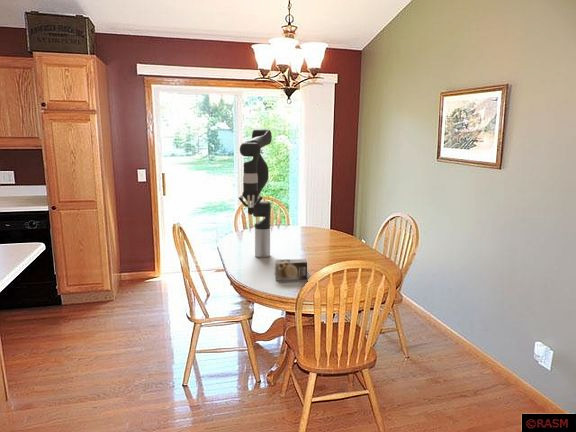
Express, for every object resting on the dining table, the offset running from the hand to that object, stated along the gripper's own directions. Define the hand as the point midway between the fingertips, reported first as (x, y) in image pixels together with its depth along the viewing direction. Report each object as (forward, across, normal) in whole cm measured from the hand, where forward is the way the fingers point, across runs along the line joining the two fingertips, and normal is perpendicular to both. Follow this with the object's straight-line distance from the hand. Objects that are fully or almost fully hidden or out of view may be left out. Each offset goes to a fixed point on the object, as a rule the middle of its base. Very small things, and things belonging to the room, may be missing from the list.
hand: (250, 214), depth 217 cm
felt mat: (+31, -21, +14) cm, 40 cm away
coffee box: (+26, -11, +15) cm, 32 cm away
